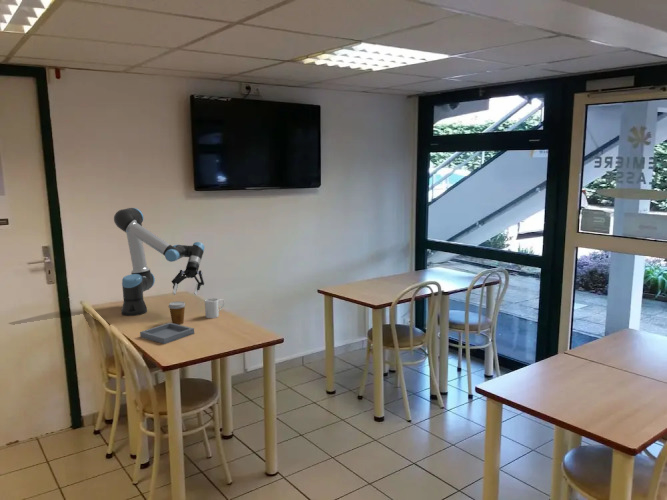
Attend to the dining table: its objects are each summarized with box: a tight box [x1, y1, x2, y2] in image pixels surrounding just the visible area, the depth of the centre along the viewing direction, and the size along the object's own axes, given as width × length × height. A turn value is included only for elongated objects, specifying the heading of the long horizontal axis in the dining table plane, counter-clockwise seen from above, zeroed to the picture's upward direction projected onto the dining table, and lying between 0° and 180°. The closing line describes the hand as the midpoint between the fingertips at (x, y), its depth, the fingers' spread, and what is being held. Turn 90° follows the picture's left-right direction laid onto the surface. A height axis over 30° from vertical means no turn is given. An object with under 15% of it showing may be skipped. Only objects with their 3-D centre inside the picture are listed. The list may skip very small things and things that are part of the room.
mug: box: [204, 297, 226, 319], centre depth 324 cm, size 12×8×10 cm, turn 125°
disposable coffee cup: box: [167, 300, 186, 325], centre depth 310 cm, size 10×10×12 cm
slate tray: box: [139, 322, 195, 345], centre depth 289 cm, size 20×20×3 cm
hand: (184, 293), depth 319 cm, fingers open, 13 cm apart
